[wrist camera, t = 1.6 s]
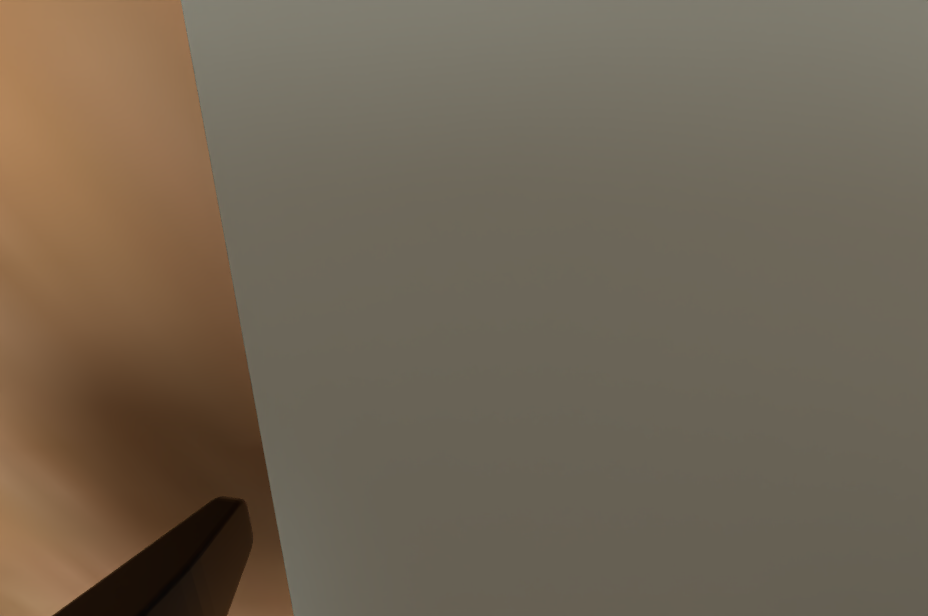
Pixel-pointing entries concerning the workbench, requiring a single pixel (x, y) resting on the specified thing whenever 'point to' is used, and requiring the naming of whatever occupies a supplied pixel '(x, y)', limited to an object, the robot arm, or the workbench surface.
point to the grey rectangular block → (581, 299)
